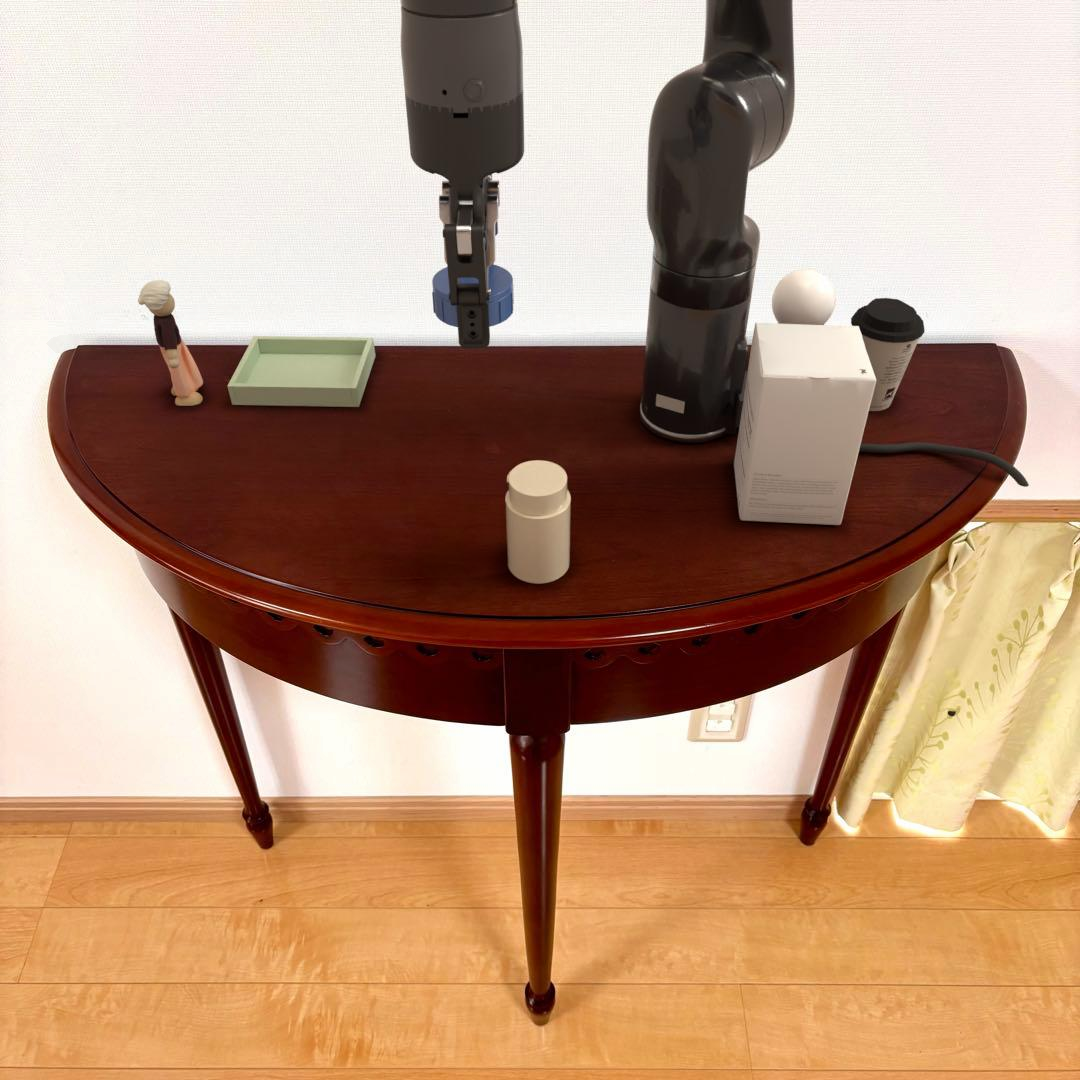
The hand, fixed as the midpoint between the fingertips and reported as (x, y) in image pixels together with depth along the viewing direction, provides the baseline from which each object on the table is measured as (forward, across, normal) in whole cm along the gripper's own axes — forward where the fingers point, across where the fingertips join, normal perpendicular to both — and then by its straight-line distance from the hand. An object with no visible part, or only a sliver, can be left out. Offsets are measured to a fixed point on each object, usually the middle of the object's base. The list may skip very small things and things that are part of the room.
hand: (477, 323), depth 72 cm
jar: (+20, +5, +4) cm, 21 cm away
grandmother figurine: (+20, -21, -32) cm, 44 cm away
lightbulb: (+20, -26, +32) cm, 45 cm away
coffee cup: (+20, -20, +38) cm, 47 cm away
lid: (-3, 0, 0) cm, 3 cm away
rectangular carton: (+20, -4, +27) cm, 34 cm away
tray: (+20, -24, -20) cm, 37 cm away
